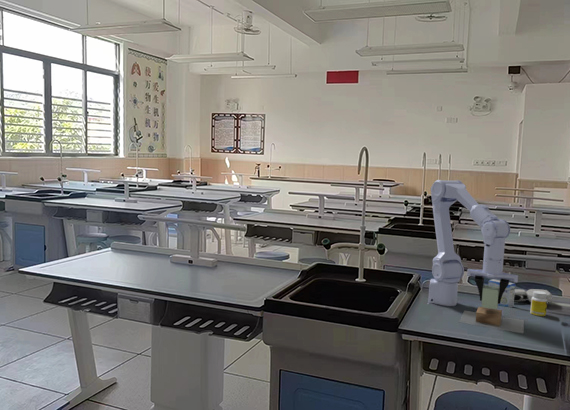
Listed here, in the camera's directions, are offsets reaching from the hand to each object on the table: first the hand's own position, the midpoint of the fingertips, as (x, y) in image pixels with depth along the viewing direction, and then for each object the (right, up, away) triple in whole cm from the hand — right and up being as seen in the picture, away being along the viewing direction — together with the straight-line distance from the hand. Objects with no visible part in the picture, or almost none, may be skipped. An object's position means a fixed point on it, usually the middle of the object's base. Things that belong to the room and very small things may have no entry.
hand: (490, 301), depth 154 cm
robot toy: (+26, -6, +28) cm, 38 cm away
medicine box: (+13, -6, +22) cm, 26 cm away
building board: (+1, -7, 0) cm, 7 cm away
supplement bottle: (+20, -7, +10) cm, 23 cm away
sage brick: (0, -2, 0) cm, 2 cm away
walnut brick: (0, -6, +1) cm, 6 cm away
